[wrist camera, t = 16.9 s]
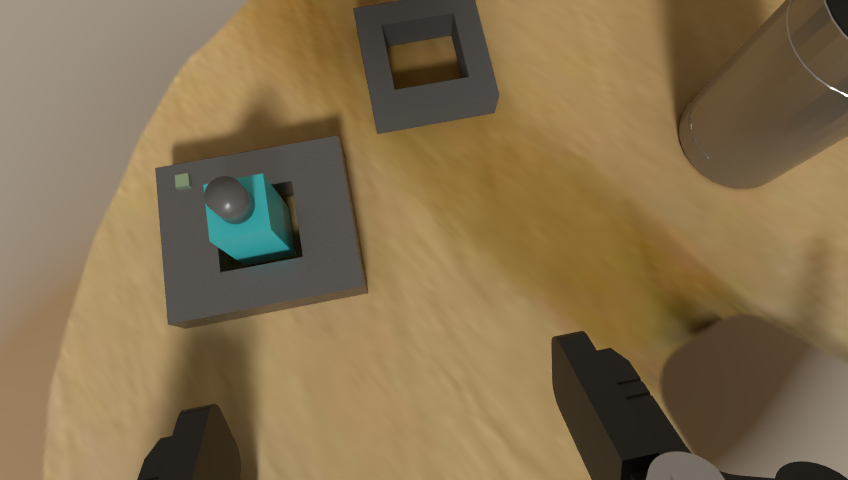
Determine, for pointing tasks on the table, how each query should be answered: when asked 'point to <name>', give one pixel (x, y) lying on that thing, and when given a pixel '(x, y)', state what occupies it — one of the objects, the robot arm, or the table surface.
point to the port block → (269, 283)
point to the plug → (248, 219)
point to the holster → (432, 103)
